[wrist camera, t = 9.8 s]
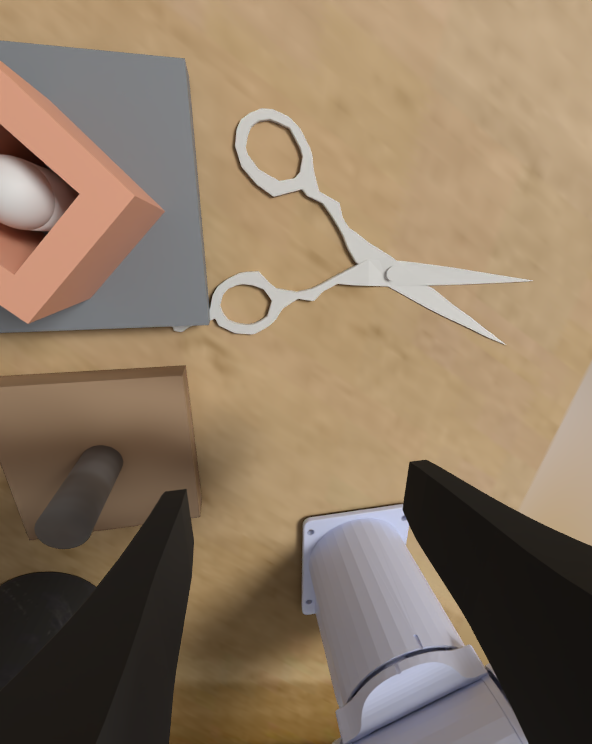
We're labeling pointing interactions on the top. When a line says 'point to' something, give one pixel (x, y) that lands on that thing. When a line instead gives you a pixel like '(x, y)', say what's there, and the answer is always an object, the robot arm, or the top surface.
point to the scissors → (370, 260)
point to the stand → (96, 449)
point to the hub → (138, 160)
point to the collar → (79, 222)
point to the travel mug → (35, 615)
